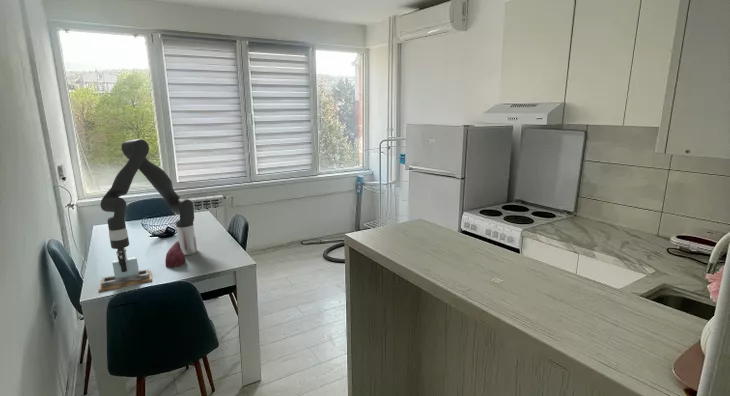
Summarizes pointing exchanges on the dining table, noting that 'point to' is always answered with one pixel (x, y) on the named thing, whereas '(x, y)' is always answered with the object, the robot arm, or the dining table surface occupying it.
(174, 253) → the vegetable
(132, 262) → the door panel
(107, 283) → the track board
